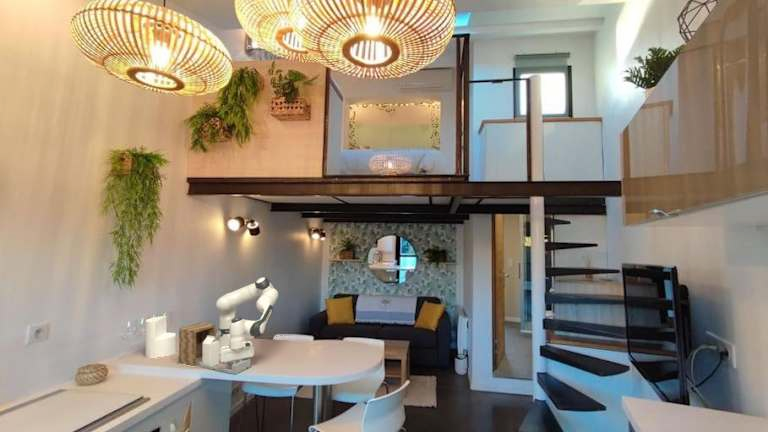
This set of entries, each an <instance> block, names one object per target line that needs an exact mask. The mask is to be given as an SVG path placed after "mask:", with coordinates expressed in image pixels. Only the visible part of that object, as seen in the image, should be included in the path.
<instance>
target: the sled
mask: <svg viewBox="0 0 768 432" xmlns="http://www.w3.org/2000/svg"><path fill="white" fill-rule="evenodd" d="M251 360H252V359H251V358H244V359H243V360H242V361H240V362H239V361H236V362H235V363H236V364H234V363H233V361H228V362H224V363H223V364H228V363H230V364H229V365H231V369H229V368H224V367H221V366H216V365H215V366H210V365H206V364H203V360H202V361H200V362H198V367H199V366H203V367H207V368H206V369H208V368H210V369H209V370H213V369H215V370H214V371H217V370H218V372H222V373H223V372H224V373H228V374H232V375H237V374H239V373H241V372H243V371H245V370H244V369H246V368H247V367H250V366H251V365H252V361H251ZM219 363H221V362H220V358H219ZM233 364H234V365H233ZM203 367H202V368H203ZM251 367H252V366H251ZM251 367H250V368H251ZM242 370H243V371H242ZM246 370H247V369H246ZM240 371H241V372H240ZM238 372H239V373H238Z"/></svg>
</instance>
